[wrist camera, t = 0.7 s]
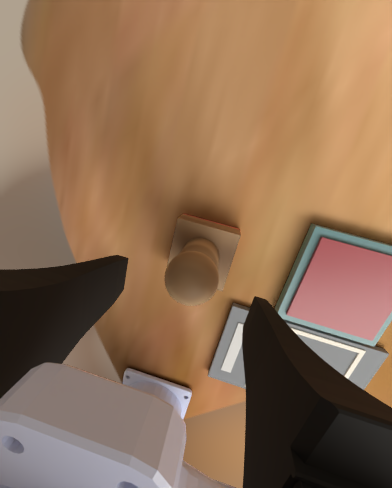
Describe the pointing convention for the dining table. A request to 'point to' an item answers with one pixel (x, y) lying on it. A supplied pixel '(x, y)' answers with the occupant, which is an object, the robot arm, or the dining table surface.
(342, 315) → the ink pad
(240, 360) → the sheet board
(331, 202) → the dining table surface
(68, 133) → the dining table surface
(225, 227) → the stamp
